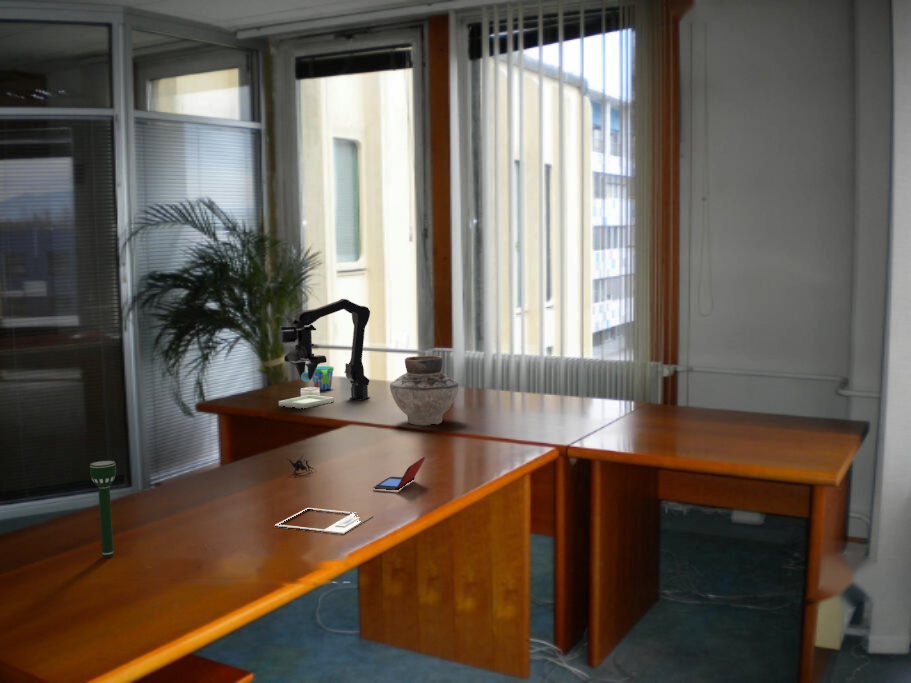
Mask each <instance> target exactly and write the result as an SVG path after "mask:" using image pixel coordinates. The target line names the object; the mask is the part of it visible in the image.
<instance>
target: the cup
mask: <svg viewBox="0 0 911 683" xmlns="http://www.w3.org/2000/svg"><path fill="white" fill-rule="evenodd" d="M320 392H321V390H320V388H316V387H314V386H313V387H312V386H306V387H302V388H300V397H301V396H306V395H315V396H321V394H320Z"/></svg>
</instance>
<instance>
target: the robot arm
mask: <svg viewBox="0 0 911 683" xmlns="http://www.w3.org/2000/svg"><path fill="white" fill-rule="evenodd" d="M342 310H345V311H346V312H348V313H349V314H351V320H352V324H353V333H352V344H351V354H350V356H351V357H350V361H349V362H348V363H346V362H345V364H344V366H345V370H344V373H345V377H346V378H347V379H348V380H349V382H350V384H351V388H350V391H351V392H350V393H351V394H350V395H351V397H349V399H350V400H356V399H363V400H366V399H365V398H368V399H370V398H371V396H368V395H369V392H368V390H369V389H368V388H369V387H368V386H369V384H370V382H371V381H370V379H369V378H368V377H367V376H365V372H364V371H365V369H364V365H363V351H364V339H365V330H366V326H367V325H368V323H369V319H370V315H371V310H370V309H369V307H367V306H366V305H365V306H364V305H359V304H357V303H355V302H353V301H350V300H349V299H348V298H347V299H346V298H340V299H339V300H337V301H334V302H331V303H328V304H325V305H322V306H320V307H317V308H314V309H306V310H300V311H297V312H296V314H295V316H294V320H293V321H292V323H291V325H290V326H279V331H278V341H279V344H291V343H295V342H296V341H297V344H295V347H294V349H292V350H290V351H289V352H288V353H287V354H285V355H284V357H283V358H284V362H287V363H291V364H292V365H293V366H294V367H295V368H296V370H297V372H298V375H299V378H300V379H301V375H302V373H304V372H306V371H305V370H306V369H305V368H306V367H307V372H308V378H309V381H311V380H313V379H312V376H313V374H314V372H315V369H316V368H317V367H318V365H320V364H324V363H325V364H326V363H327V357H326V355H320V354H318V355H317V354H316V355H315V353H313V347H315V344H314V343H313V341H312V340H313V339H312V338H313V337H312V335H313V334H312V331H317V328H316V327H315V326H314V325H313V323H315V322H317V321H318V320H319V319H320V318H324V317H326V316H328V315H331V314H333V313H336V312H339V311H342ZM306 362H308V363H306Z"/></svg>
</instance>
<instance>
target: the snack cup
mask: <svg viewBox="0 0 911 683" xmlns="http://www.w3.org/2000/svg"><path fill="white" fill-rule="evenodd" d="M334 370H335V369H334V366H330V365H324V366H323V365H321V366H317V368H316V369H315V372H314V374H313V376H312V379H311V380H312V383H313V387H316V388H320V391H328V390H327V389H329V390H331V388H332V383H333V374H334Z"/></svg>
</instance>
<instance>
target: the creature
mask: <svg viewBox="0 0 911 683" xmlns="http://www.w3.org/2000/svg"><path fill="white" fill-rule="evenodd" d="M303 457H304V455H302V456H301V457H300V458H299V459H297V460H296V461H295V462H293V461H292V460H291V459H289V458H287V460H288V461H289V463H290V464H291V466H292V467H293V468H294V471H293V476H294V477H295V476H296V475H295V473H296V474H297V471H298V472H299V471H302V472H303V471H304V472H308V474H309V475H311V474H312V475H313V474H314V473H313V471H312V470H314V471H315V470H316V469H315V468H313V467H311V466H310V465H309V464H308V462H309V460H306V458H304V460H303V461H302V459H303ZM304 462H305V464H304ZM305 465H306V466H305Z"/></svg>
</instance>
